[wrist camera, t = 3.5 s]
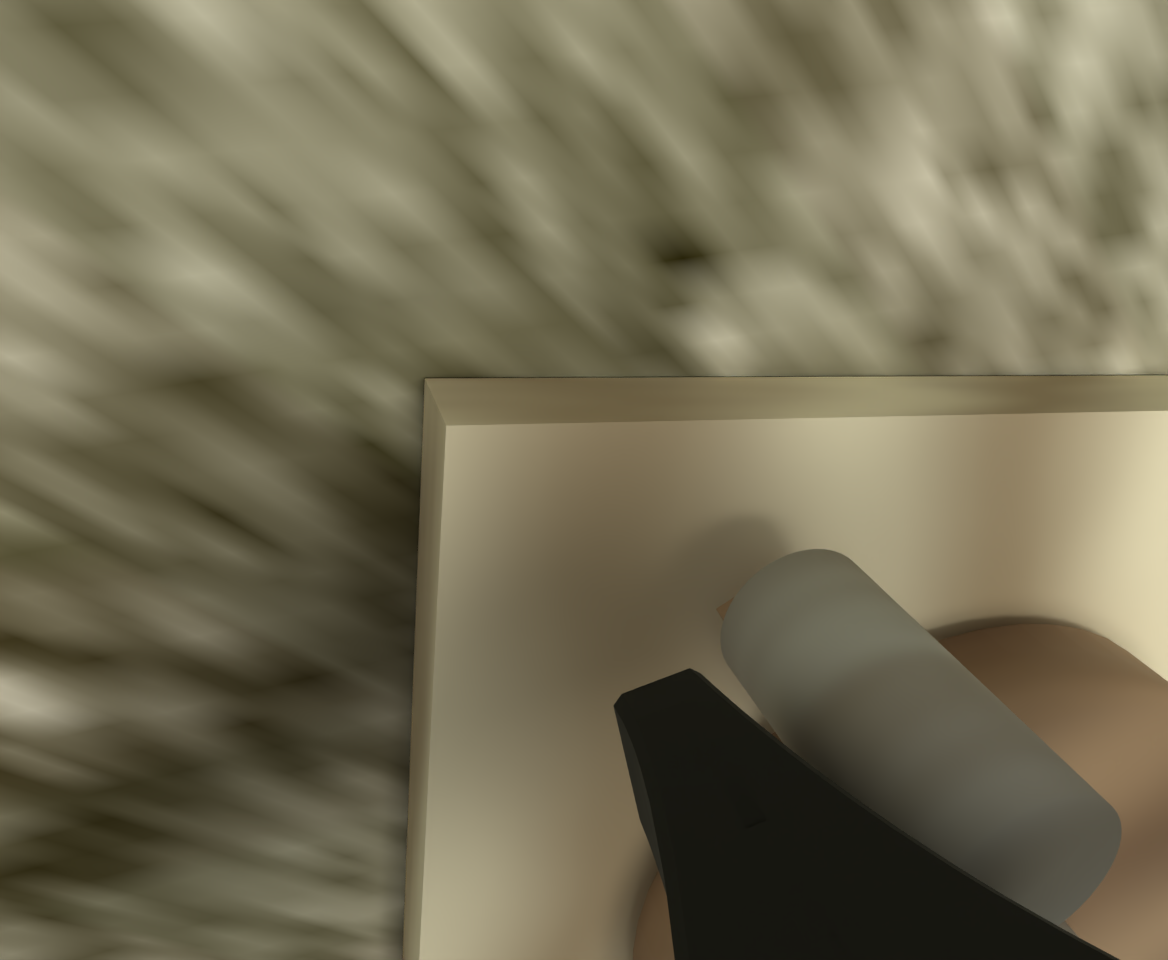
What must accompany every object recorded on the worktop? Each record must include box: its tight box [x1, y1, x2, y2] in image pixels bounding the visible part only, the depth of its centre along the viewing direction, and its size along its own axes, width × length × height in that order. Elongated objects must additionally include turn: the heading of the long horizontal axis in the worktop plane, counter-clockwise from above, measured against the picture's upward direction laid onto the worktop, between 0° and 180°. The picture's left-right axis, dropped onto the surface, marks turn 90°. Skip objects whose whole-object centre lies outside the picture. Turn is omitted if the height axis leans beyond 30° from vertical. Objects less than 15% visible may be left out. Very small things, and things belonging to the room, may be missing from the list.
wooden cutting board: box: [402, 375, 1168, 960], centre depth 18 cm, size 17×18×2 cm
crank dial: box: [633, 549, 1168, 960], centre depth 14 cm, size 15×11×5 cm
